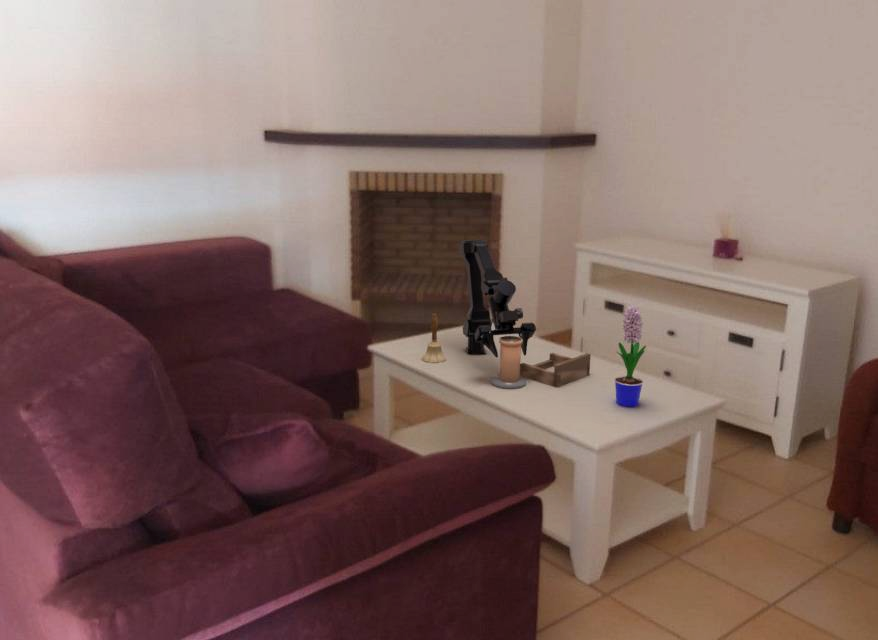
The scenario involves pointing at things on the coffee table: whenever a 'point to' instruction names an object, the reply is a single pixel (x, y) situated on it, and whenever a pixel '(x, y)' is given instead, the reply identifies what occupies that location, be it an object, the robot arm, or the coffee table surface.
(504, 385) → the saucer
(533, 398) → the coffee table surface
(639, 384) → the hyacinth
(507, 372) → the pot
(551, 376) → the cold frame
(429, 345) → the hand bell
